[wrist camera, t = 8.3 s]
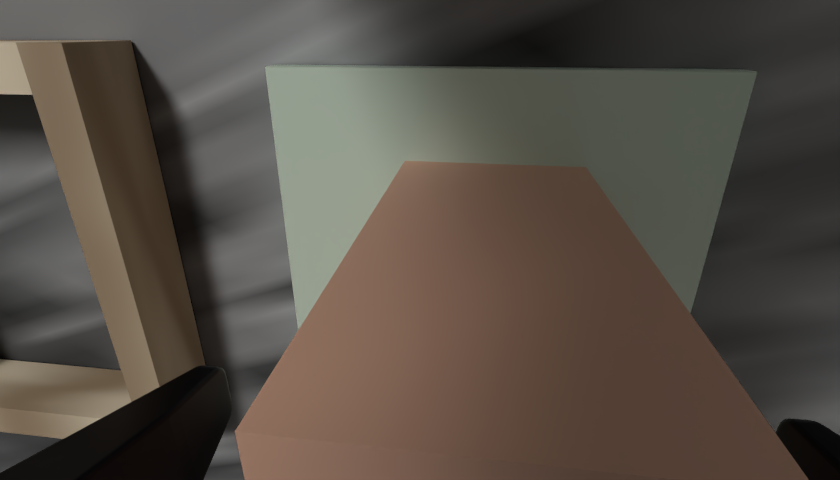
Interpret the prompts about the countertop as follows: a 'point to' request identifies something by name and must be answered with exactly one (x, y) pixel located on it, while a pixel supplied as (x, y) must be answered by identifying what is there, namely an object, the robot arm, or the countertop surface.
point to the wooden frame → (102, 234)
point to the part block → (503, 349)
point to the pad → (505, 147)
